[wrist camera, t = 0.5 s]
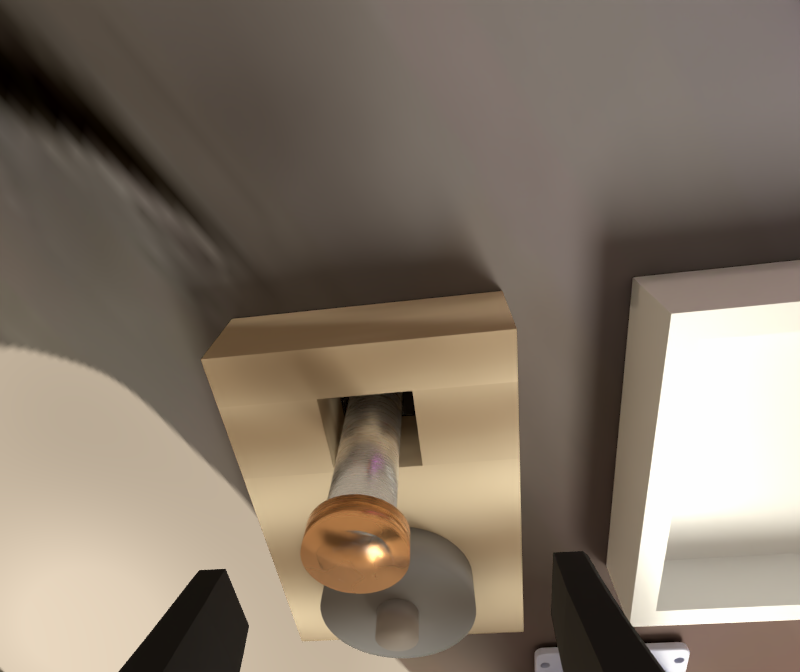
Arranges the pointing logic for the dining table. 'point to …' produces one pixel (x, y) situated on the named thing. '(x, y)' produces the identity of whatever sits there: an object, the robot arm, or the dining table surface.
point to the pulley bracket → (418, 462)
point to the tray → (709, 449)
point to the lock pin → (362, 504)
